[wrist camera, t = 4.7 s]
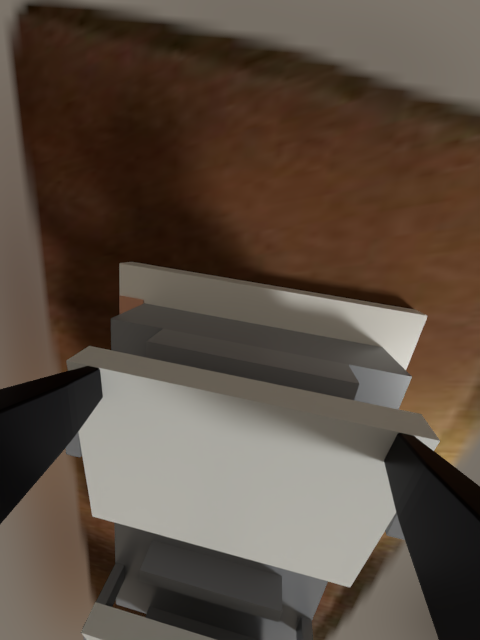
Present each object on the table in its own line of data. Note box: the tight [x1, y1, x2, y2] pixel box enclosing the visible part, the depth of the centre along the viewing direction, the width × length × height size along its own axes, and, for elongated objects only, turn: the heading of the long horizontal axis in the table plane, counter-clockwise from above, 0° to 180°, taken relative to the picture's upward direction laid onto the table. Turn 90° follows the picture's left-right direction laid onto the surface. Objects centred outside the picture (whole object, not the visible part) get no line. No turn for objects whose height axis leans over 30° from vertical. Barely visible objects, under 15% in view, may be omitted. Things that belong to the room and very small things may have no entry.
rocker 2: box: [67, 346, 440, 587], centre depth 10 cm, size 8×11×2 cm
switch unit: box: [66, 262, 427, 640], centre depth 15 cm, size 26×16×7 cm, turn 172°
